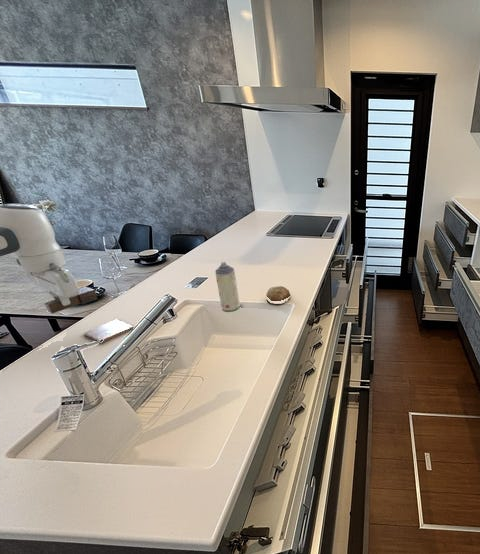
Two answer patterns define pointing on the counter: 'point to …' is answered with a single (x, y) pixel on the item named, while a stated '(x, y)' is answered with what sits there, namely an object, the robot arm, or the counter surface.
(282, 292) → the bread roll
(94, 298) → the dish brush
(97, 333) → the light flat block
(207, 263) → the counter surface
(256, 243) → the counter surface
